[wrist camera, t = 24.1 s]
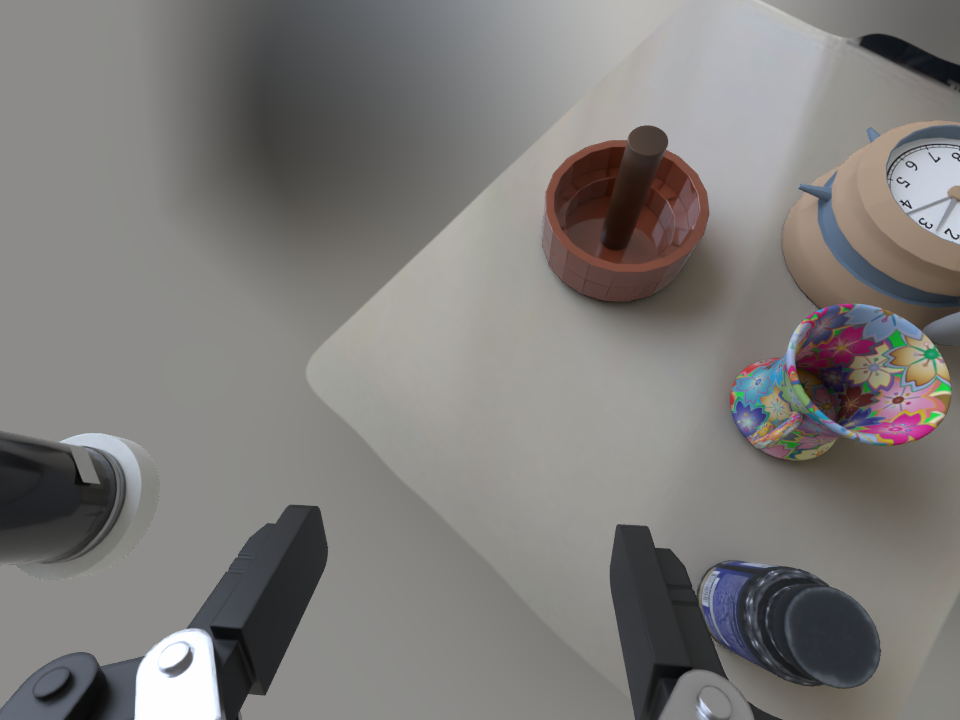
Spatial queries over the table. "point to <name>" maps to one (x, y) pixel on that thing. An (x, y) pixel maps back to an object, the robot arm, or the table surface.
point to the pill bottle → (789, 623)
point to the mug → (843, 385)
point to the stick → (633, 185)
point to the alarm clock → (886, 229)
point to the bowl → (655, 240)
